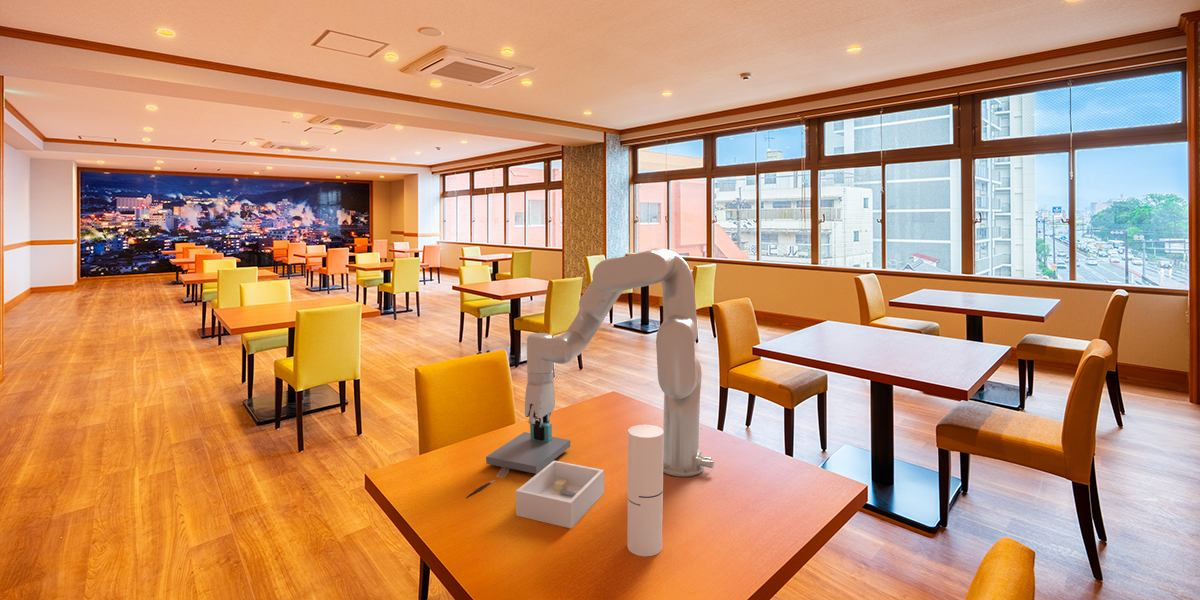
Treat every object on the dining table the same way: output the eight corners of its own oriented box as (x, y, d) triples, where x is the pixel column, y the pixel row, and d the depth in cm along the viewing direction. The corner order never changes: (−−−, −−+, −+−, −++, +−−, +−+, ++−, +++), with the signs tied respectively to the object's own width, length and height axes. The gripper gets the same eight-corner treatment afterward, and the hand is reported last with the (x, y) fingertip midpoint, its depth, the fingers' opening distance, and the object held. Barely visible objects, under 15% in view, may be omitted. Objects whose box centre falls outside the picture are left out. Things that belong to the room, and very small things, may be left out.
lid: (570, 446, 169) (570, 423, 168) (536, 473, 151) (535, 448, 150) (524, 438, 175) (523, 416, 174) (486, 463, 157) (485, 438, 156)
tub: (604, 493, 143) (604, 470, 143) (571, 528, 127) (570, 502, 126) (554, 482, 149) (553, 460, 148) (516, 515, 133) (515, 490, 132)
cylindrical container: (660, 558, 116) (662, 438, 112) (624, 554, 118) (625, 436, 114) (663, 539, 123) (665, 425, 119) (630, 535, 124) (630, 423, 121)
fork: (461, 498, 142) (461, 491, 141) (502, 473, 155) (502, 466, 155) (470, 501, 140) (469, 493, 140) (510, 475, 154) (510, 468, 154)
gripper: (542, 368, 175) (543, 427, 177) (514, 382, 160) (515, 445, 163) (565, 371, 172) (565, 430, 174) (538, 385, 157) (538, 450, 160)
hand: (541, 437), depth 169 cm, fingers closed on lid
